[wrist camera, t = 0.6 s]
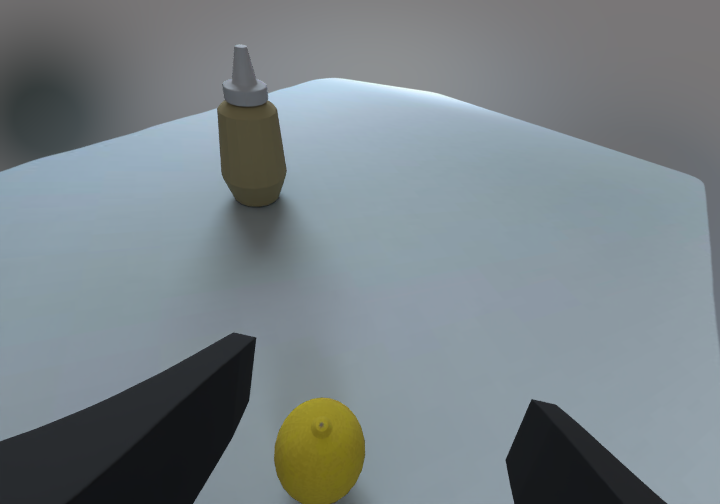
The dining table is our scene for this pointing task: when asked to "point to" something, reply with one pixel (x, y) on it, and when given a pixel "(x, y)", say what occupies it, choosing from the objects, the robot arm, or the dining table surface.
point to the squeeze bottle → (250, 136)
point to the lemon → (319, 451)
